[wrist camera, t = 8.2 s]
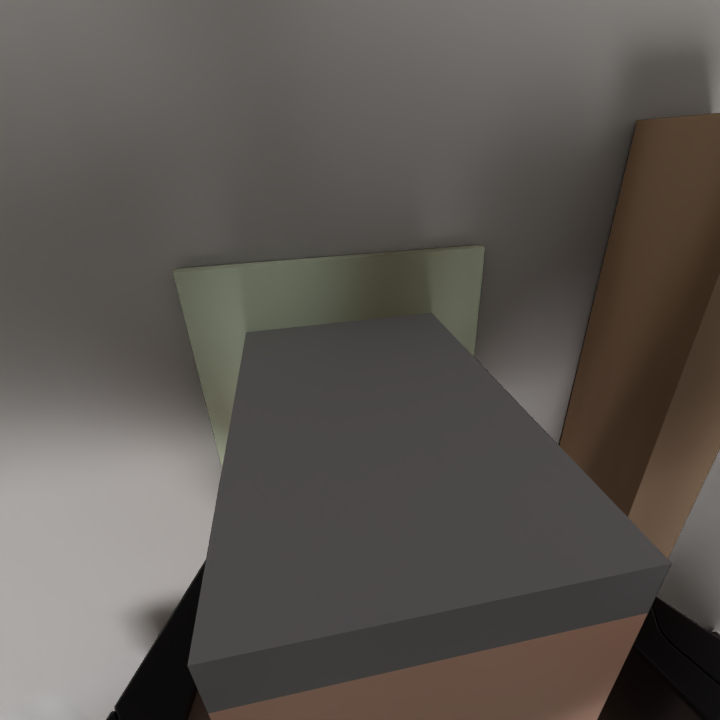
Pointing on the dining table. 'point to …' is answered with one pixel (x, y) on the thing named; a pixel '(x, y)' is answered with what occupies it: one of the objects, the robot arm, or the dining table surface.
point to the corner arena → (602, 341)
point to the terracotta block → (406, 542)
